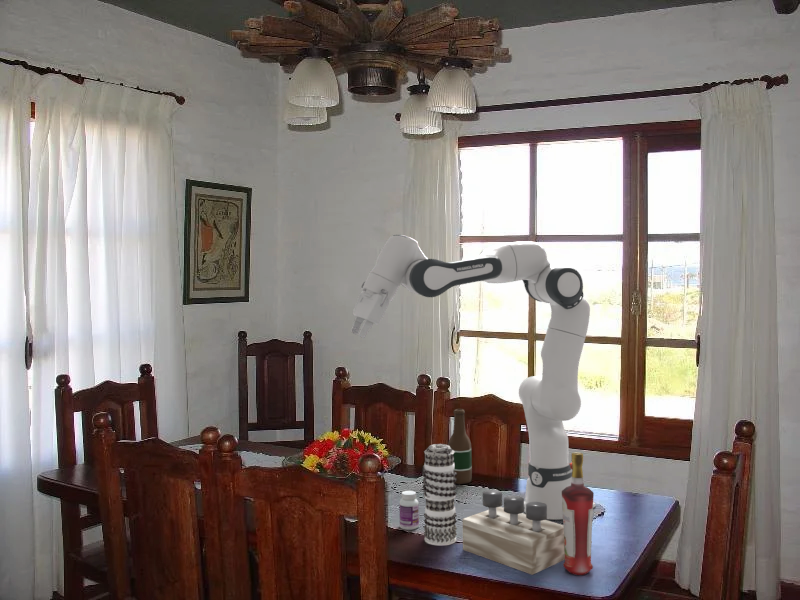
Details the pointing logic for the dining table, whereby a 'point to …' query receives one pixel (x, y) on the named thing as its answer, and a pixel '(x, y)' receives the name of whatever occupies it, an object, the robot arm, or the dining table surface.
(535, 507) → the knob
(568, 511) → the liquor
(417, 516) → the pill bottle
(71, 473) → the dining table surface
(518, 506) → the knob
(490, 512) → the knob
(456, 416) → the beer bottle
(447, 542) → the decorative candle
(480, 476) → the dining table surface
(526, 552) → the console
